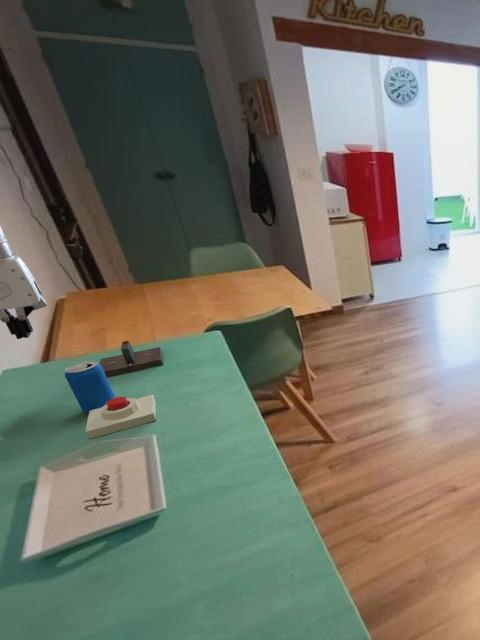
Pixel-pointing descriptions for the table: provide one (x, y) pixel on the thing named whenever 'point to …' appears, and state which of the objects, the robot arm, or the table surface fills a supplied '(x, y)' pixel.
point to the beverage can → (89, 385)
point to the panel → (141, 361)
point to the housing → (121, 417)
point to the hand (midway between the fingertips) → (24, 336)
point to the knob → (127, 351)
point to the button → (117, 403)
